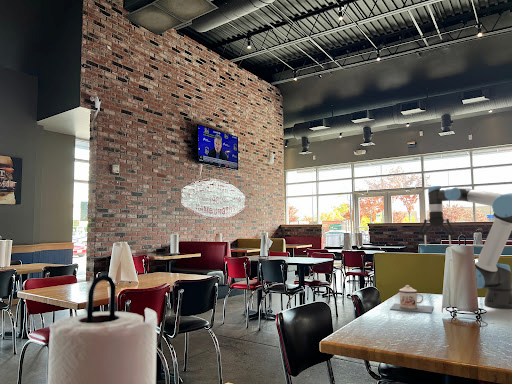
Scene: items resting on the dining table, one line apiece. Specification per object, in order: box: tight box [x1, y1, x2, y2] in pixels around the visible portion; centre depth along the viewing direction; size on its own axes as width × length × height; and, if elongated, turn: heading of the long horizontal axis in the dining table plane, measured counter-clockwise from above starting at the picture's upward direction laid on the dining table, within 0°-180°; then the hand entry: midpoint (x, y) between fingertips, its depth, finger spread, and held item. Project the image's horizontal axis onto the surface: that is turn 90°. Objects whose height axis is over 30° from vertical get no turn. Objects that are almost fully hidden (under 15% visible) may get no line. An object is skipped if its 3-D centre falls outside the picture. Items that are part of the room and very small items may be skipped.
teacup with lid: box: [398, 284, 424, 309], centre depth 207 cm, size 12×9×12 cm
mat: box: [389, 302, 434, 314], centre depth 206 cm, size 20×16×1 cm
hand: (437, 246), depth 235 cm, fingers open, 13 cm apart
